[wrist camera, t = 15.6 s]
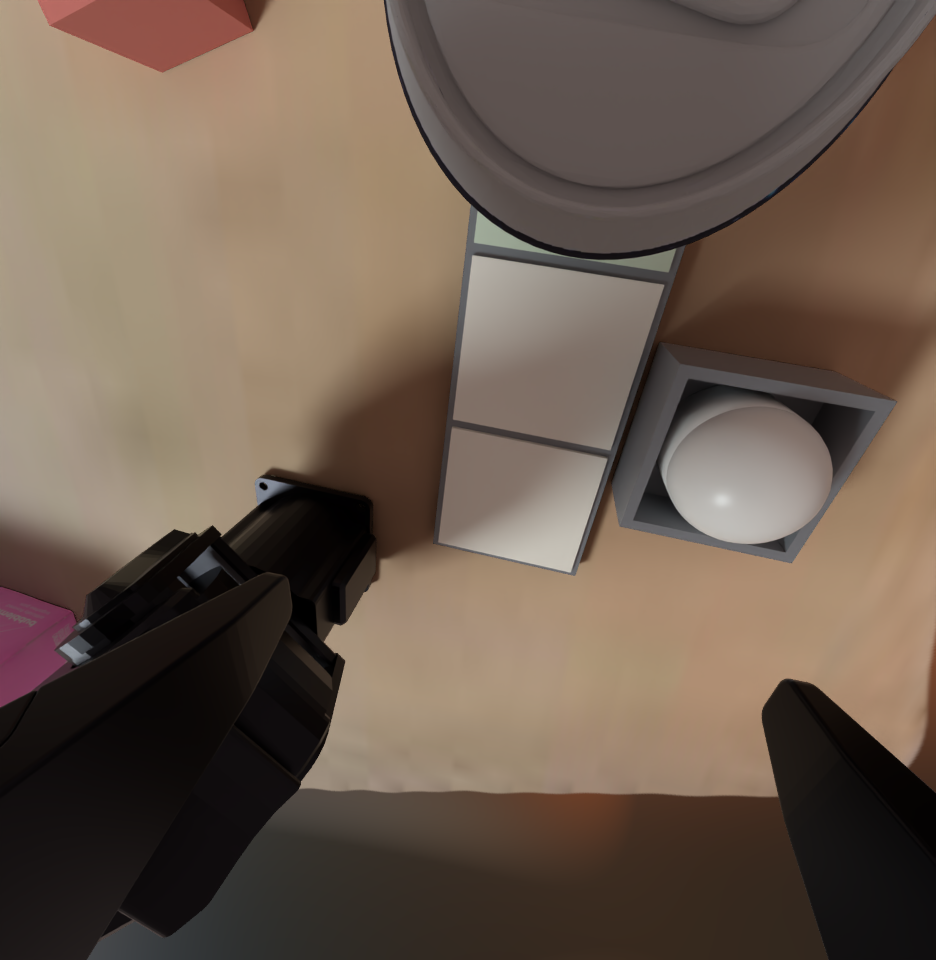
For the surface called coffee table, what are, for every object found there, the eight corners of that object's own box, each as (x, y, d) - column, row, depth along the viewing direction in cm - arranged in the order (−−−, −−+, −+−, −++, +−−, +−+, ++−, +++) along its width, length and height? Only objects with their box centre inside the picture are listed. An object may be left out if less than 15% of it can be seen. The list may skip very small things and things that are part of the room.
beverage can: (545, -13, 12) (430, -1414, 2) (732, 63, 12) (1663, -925, 2) (477, 212, 15) (285, 150, 5) (629, 274, 15) (768, 345, 5)
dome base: (611, 483, 20) (619, 526, 17) (659, 341, 17) (680, 363, 14) (756, 513, 19) (791, 563, 16) (835, 371, 16) (897, 401, 13)
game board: (437, 534, 23) (431, 545, 23) (500, -11, 13) (495, -29, 12) (574, 565, 23) (575, 578, 22) (756, 12, 12) (771, -5, 11)
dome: (638, 483, 19) (659, 554, 14) (679, 373, 16) (719, 420, 12) (755, 507, 18) (812, 588, 14) (815, 397, 16) (908, 454, 11)
